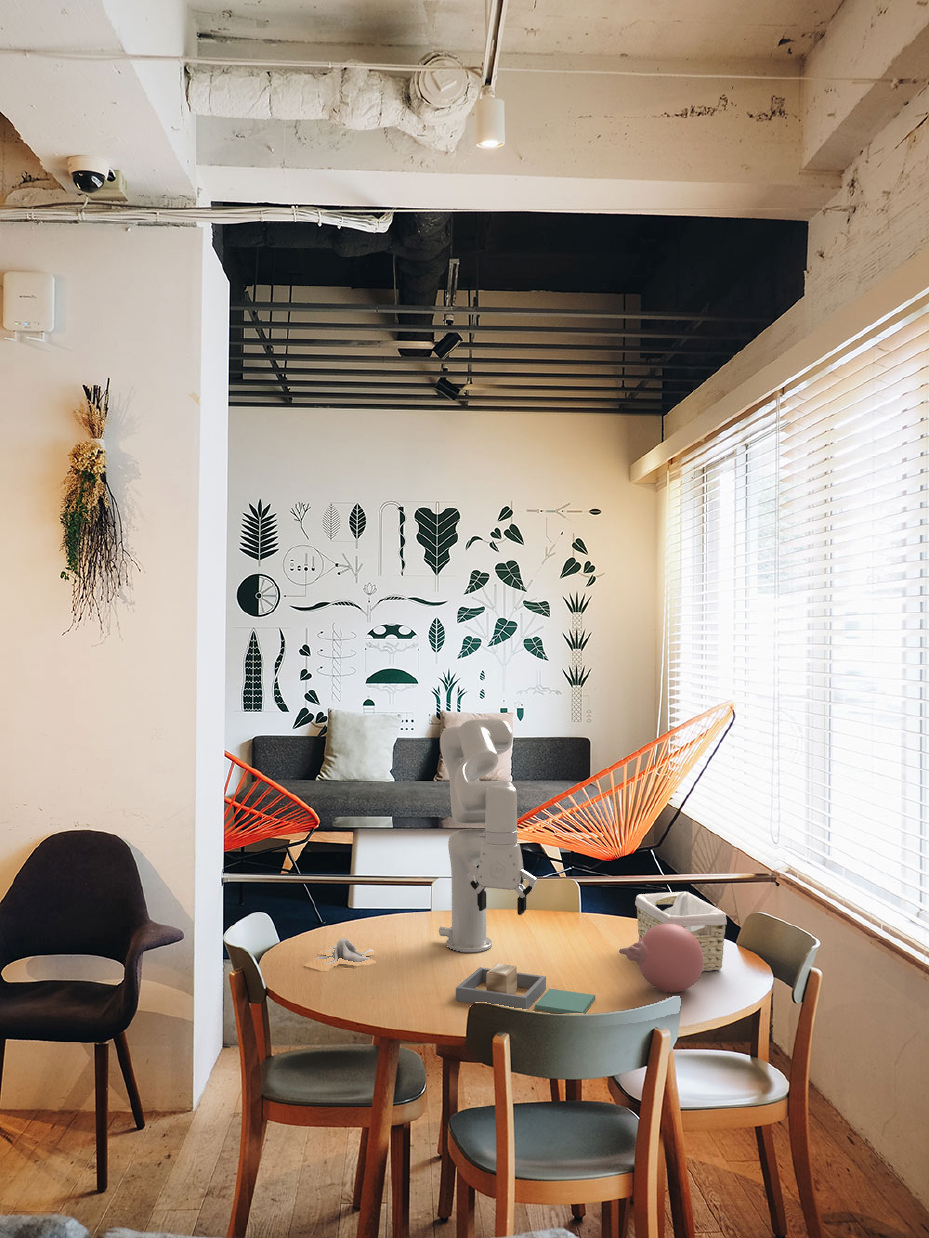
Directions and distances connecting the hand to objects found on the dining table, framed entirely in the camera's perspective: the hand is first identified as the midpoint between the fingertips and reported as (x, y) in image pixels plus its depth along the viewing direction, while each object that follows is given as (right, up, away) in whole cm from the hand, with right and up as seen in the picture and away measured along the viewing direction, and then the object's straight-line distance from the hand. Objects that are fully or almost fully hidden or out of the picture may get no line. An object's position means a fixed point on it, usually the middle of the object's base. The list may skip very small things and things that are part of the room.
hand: (501, 911), depth 215 cm
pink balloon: (+38, -20, +2) cm, 43 cm away
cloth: (-39, -21, +24) cm, 51 cm away
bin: (0, -19, -1) cm, 19 cm away
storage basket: (+48, -21, +25) cm, 57 cm away
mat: (+14, -19, -7) cm, 25 cm away
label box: (0, -20, -1) cm, 20 cm away
